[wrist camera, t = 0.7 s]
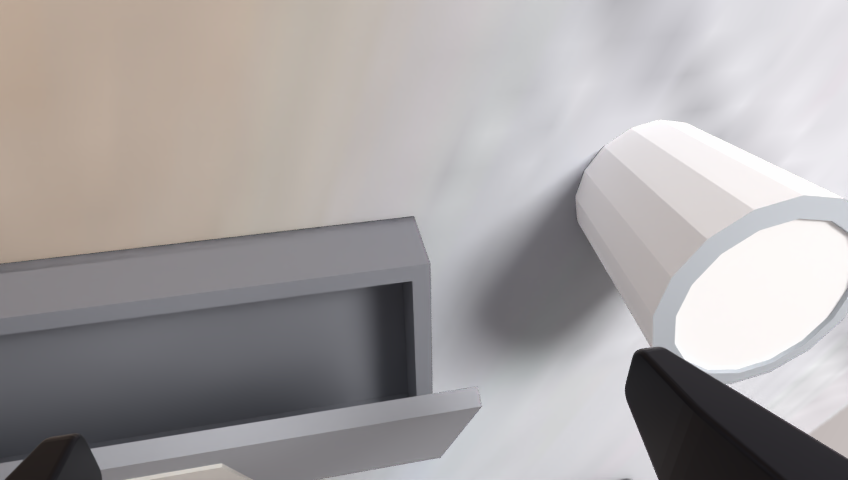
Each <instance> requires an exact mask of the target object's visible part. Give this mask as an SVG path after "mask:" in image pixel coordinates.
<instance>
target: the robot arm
mask: <svg viewBox="0 0 848 480" xmlns="http://www.w3.org/2000/svg"><path fill="white" fill-rule="evenodd" d="M625 395H626V400H627V403H628V405H629V408H630V410H631V413H632V415H633V418H634V420H635V422H636V425H637V427H638V430H639V432H640V435H641V437H642V440H643V442H644V445H645V447H646V450H647V452H648V455H649V457H650V460H651V462H652V465H653V467H654V470H655V472H656V475H657V477H658V479H659V480H848V459H847V458H846V457H844V456H843V455H841V454H839V453H838V452H836V451H834V450H833V449H831V448H829V447H828V446H826V445H824V444H823V443H821V442H819V441H818V440H816V439H815V438H813V437H811V436H810V435H808V434H806V433H805V432H803V431H801V430H800V429H798V428H796V427H795V426H793V425H791V424H790V423H788V422H787V421H785V420H783V419H782V418H780V417H778V416H777V415H775V414H773V413H772V412H770V411H768V410H767V409H765V408H763V407H762V406H760V405H759V404H757V403H755V402H754V401H752V400H750V399H749V398H747V397H745V396H744V395H742V394H740V393H739V392H737V391H735V390H734V389H732V388H731V387H729V386H727V385H726V384H724V383H722V382H721V381H719V380H717V379H716V378H714V377H712V376H711V375H709V374H707V373H706V372H704V371H703V370H701V369H699V368H698V367H696V366H694V365H693V364H691V363H689V362H688V361H686V360H684V359H683V358H681V357H679V356H678V355H676V354H675V353H673V352H671V351H670V350H668V349H666V348H664V347H650V348H644V349H639V350H637V351H636V352H635V353H634V355H633V357H632V361H631V365H630V369H629V373H628V377H627V381H626V384H625ZM4 480H102V474H101V470H100V468H99V466H98V464H97V461H96V459H95V457H94V455H93V453H92V451H91V449H90V447H89V445H88V443H87V441H86V439H85V438H84V436H82V435H81V434H79V433H73V434H66V435H59V436H53V437H49V438H47V439H45V440H44V441H42V442H41V443H40V444H39V445H38V446H37V447H36V448H35V449H34V450H33V451H32V452H31V453H30V454H29V455H28V456H27V457H26V458H25V459H24V460H23V461H22V462H21V463H20V464H19V465H18V466H17V467H16V468H15V469H14V470H13V471H12V472H11V473H10V474H9V475H8V476H7V477H6V478H5V479H4Z"/></svg>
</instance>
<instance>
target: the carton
mask: <svg viewBox="0 0 848 480" xmlns="http://www.w3.org/2000/svg"><path fill="white" fill-rule="evenodd" d="M427 394H432V333H431V271H430V261H429V258H428V255H427V252H426V250H425V247H424V244H423V241H422V238H421V235H420V232H419V229H418V227H417V224H416V221H415V218H414V216H412V217H403V218H394V219H386V220H377V221H368V222H360V223H351V224H342V225H334V226H325V227H316V228H308V229H299V230H290V231H282V232H273V233H264V234H256V235H247V236H238V237H230V238H221V239H212V240H204V241H195V242H186V243H177V244H169V245H160V246H151V247H143V248H134V249H125V250H117V251H108V252H99V253H91V254H82V255H73V256H65V257H56V258H47V259H39V260H30V261H21V262H13V263H4V264H0V463H6V462H12V461H18V460H24V459H25V458H26V457H27V456H28V455H29V454H30V453H31V452H32V451H33V450H34V449H35V448H36V447H37V446H38V445H39V444H40V443H41V442H42V441H44V440H45V439H47V438H49V437H53V436H59V435H66V434H73V433H79V434H81V435H82V436H84V438H85V439H86V441H87V443H88V445H89V447H90V449H93V448H99V447H105V446H111V445H117V444H124V443H130V442H136V441H142V440H148V439H155V438H161V437H167V436H173V435H179V434H186V433H192V432H198V431H204V430H210V429H216V428H223V427H229V426H235V425H241V424H247V423H254V422H260V421H266V420H272V419H278V418H285V417H291V416H297V415H303V414H309V413H316V412H322V411H328V410H334V409H340V408H347V407H353V406H359V405H365V404H371V403H378V402H384V401H390V400H396V399H402V398H409V397H415V396H421V395H427Z"/></svg>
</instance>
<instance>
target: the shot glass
mask: <svg viewBox="0 0 848 480" xmlns="http://www.w3.org/2000/svg"><path fill="white" fill-rule="evenodd" d="M575 200H576V213H577V222H578V223H579V225H580V227H581V228H582V230H583V232H584V234H585V235H586V237H587V239H588V240H589V242H590V244H591V246H592V247H593V249H594V251H595V252H596V254H597V256H598V258H599V259H600V261H601V263H602V264H603V266H604V268H605V269H606V271H607V273H608V275H609V276H610V278H611V280H612V281H613V283H614V285H615V287H616V288H617V290H618V292H619V293H620V295H621V297H622V299H623V300H624V302H625V304H626V305H627V307H628V309H629V311H630V312H631V314H632V316H633V317H634V319H635V321H636V323H637V324H638V326H639V328H640V329H641V331H642V333H643V334H644V336H645V338H646V340H647V341H648V343H649V345H650V346H651V347H664V348H666V349H668V350H670V351H671V352H673V353H675V354H676V355H678V356H679V357H681V358H683V359H684V360H686V361H688V362H689V363H691V364H693V365H694V366H696V367H698V368H699V369H701V370H703V371H704V372H706V373H707V374H709V375H711V376H712V377H714V378H716V379H717V380H719V381H721V382H722V383H724V384H732V383H736V382H739V381H742V380H746V379H749V378H752V377H755V376H759V375H762V374H765V373H768V372H771V371H773V370H775V369H776V368H778V367H780V366H782V365H783V364H785V363H787V362H789V361H790V360H792V359H794V358H796V357H797V356H799V355H801V354H803V353H804V352H806V351H808V350H809V349H811V348H812V347H813V346H814V345H815V344H816V343H817V342H818V341H820V340H821V339H822V338H823V337H824V336H825V335H826V334H827V333H829V332H830V331H831V330H832V329H833V328H834V327H835V326H836V325H838V324H839V323H840V322H841V321H842V320H843V319H844V317H845V316H846V315H847V313H848V201H847V200H846V199H845V198H842V197H840V196H838V195H836V194H834V193H832V192H830V191H828V190H826V189H824V188H821V187H819V186H817V185H815V184H813V183H811V182H809V181H807V180H805V179H803V178H801V177H798V176H796V175H794V174H792V173H790V172H788V171H786V170H784V169H782V168H780V167H778V166H775V165H773V164H771V163H769V162H767V161H765V160H763V159H761V158H759V157H757V156H754V155H752V154H750V153H748V152H746V151H744V150H742V149H740V148H738V147H736V146H734V145H731V144H729V143H727V142H725V141H723V140H721V139H719V138H717V137H715V136H713V135H710V134H708V133H706V132H704V131H702V130H700V129H698V128H696V127H694V126H692V125H690V124H687V123H685V122H676V121H667V120H656V121H653V122H649V123H646V124H642V125H639V126H635V127H632V128H629V129H628V130H626V131H625V132H624V133H622V134H621V135H619V136H618V137H616V138H615V139H613V140H612V141H610V142H609V143H608V144H606V145H605V146H603V148H602V149H601V150H600V151H599V153H598V154H597V155H596V157H595V158H594V159H593V160H592V162H591V163H590V164H589V165H588V167H587V168H586V169H585V171H584V173H583V176H582V179H581V182H580V185H579V188H578V191H577V193H576V196H575Z"/></svg>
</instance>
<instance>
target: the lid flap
mask: <svg viewBox="0 0 848 480" xmlns="http://www.w3.org/2000/svg"><path fill="white" fill-rule="evenodd" d="M481 407H482V404H481V400H480V395H479V390H478V386H477V387H470V388H464V389H458V390H452V391H446V392H439V393H433V394H427V395H421V396H415V397H409V398H402V399H396V400H390V401H384V402H378V403H371V404H365V405H359V406H353V407H347V408H340V409H334V410H328V411H322V412H316V413H309V414H303V415H297V416H291V417H285V418H278V419H272V420H266V421H260V422H254V423H247V424H241V425H235V426H229V427H223V428H216V429H210V430H204V431H198V432H192V433H186V434H179V435H173V436H167V437H161V438H155V439H148V440H142V441H136V442H130V443H124V444H117V445H111V446H105V447H99V448H93V449H91V451H92V453H93V455H94V457H95V459H96V461H97V464H98V466H99V468H100V470H101V474H102V480H317V479H323V478H329V477H334V476H340V475H345V474H351V473H357V472H362V471H368V470H374V469H379V468H385V467H390V466H396V465H402V464H407V463H413V462H418V461H424V460H430V459H435V458H441V456H442V455H443V454H444V453H445V451H446V450H447V449H448V448H449V446H450V445H451V444H452V443H453V441H454V440H455V439H456V438H457V437H458V435H459V434H460V433H461V432H462V430H463V429H464V428H465V427H466V425H467V424H468V423H469V422H470V420H471V419H472V418H473V417H474V415H475V414H476V413H477V412H478V411H479V409H480V408H481ZM22 461H23V460H18V461H12V462H6V463H0V480H4V479H5V478H6V477H7V476H8V475H9V474H10V473H11V472H12V471H13V470H14V469H15V468H16V467H17V466H18V465H19V464H20V463H21V462H22Z"/></svg>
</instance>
